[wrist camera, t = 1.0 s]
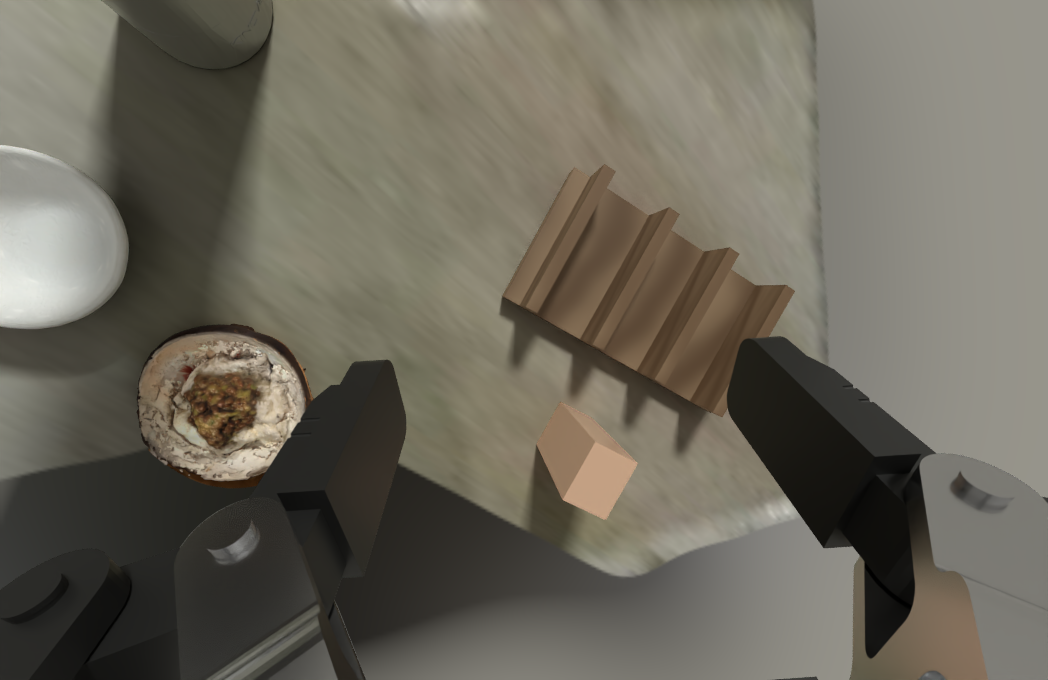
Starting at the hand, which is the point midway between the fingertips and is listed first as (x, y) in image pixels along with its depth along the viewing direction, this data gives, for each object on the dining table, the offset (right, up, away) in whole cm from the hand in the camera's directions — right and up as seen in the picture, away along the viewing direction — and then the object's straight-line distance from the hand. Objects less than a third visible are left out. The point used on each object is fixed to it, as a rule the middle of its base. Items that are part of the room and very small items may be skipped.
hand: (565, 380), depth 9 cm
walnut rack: (+10, +5, +27) cm, 29 cm away
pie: (-25, -4, +24) cm, 34 cm away
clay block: (+3, -7, +28) cm, 29 cm away
